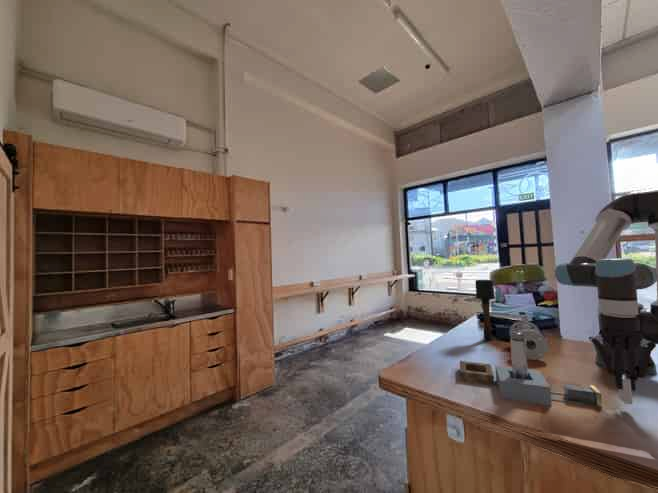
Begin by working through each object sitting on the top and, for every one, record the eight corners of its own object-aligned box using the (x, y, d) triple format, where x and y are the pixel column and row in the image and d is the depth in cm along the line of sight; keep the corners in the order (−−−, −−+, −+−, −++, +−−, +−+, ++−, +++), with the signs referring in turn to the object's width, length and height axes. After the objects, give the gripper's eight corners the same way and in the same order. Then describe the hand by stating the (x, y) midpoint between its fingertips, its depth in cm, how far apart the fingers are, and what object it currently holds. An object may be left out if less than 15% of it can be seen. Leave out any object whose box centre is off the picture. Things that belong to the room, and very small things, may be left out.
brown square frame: (491, 375, 98) (490, 364, 98) (494, 388, 89) (493, 375, 89) (460, 371, 102) (459, 360, 102) (460, 383, 93) (460, 371, 93)
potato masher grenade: (501, 342, 131) (496, 280, 132) (481, 342, 133) (477, 281, 134) (494, 337, 139) (490, 279, 141) (476, 337, 141) (472, 279, 142)
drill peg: (527, 389, 85) (523, 332, 85) (530, 395, 81) (526, 335, 82) (512, 387, 87) (508, 330, 87) (514, 393, 83) (511, 334, 84)
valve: (550, 362, 107) (547, 323, 107) (514, 357, 113) (511, 321, 113) (539, 344, 126) (537, 312, 127) (509, 342, 132) (506, 311, 132)
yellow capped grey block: (594, 401, 78) (593, 385, 78) (602, 409, 74) (600, 392, 74) (564, 396, 81) (563, 381, 81) (569, 404, 77) (568, 388, 77)
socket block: (572, 393, 83) (570, 373, 84) (589, 414, 72) (587, 392, 73) (496, 383, 92) (495, 365, 92) (501, 401, 81) (500, 380, 81)
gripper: (642, 312, 75) (650, 398, 74) (582, 310, 81) (588, 390, 80) (661, 318, 69) (670, 413, 68) (593, 316, 74) (600, 403, 73)
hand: (626, 401), depth 74 cm, fingers closed
